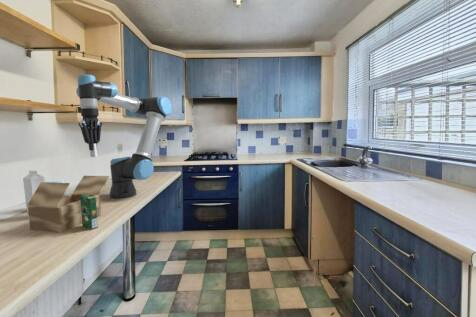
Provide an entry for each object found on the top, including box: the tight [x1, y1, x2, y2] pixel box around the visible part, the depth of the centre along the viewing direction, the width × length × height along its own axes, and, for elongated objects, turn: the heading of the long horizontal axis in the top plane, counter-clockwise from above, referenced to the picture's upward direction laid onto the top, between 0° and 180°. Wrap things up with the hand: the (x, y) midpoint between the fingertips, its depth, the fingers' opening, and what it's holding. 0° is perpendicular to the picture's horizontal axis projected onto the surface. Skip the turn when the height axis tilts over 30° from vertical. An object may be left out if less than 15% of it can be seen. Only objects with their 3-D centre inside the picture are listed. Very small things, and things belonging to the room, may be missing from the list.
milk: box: [22, 170, 46, 219], centre depth 135 cm, size 6×6×22 cm
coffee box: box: [80, 195, 99, 230], centre depth 118 cm, size 8×3×13 cm, turn 54°
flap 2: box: [72, 175, 110, 195], centre depth 139 cm, size 10×15×1 cm
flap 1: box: [28, 182, 70, 207], centre depth 117 cm, size 10×15×1 cm
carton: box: [28, 192, 102, 233], centre depth 126 cm, size 22×16×10 cm
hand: (94, 156), depth 141 cm, fingers closed
